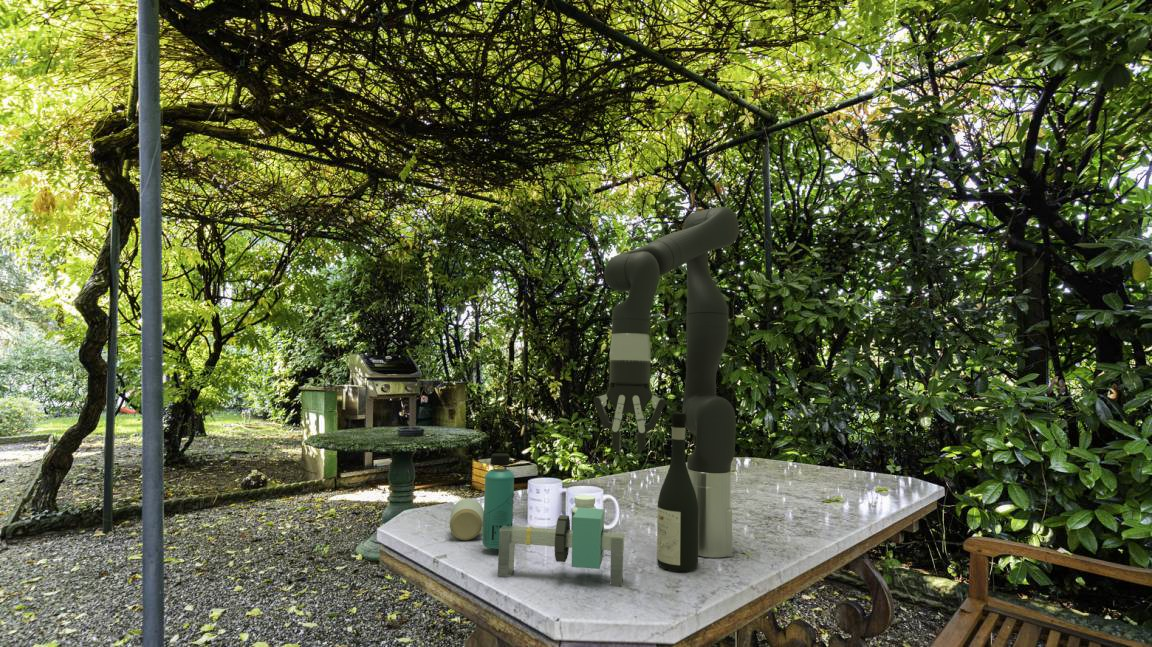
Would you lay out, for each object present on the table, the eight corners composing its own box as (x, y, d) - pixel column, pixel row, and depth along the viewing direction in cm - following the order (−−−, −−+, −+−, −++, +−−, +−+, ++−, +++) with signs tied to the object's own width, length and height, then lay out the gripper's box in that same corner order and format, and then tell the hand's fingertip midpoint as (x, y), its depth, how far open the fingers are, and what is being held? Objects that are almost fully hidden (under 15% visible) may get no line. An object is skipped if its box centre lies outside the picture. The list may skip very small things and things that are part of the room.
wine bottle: (671, 575, 105) (672, 414, 108) (649, 562, 113) (651, 411, 115) (706, 570, 109) (707, 414, 111) (682, 557, 116) (684, 411, 118)
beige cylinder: (448, 542, 122) (450, 506, 123) (449, 531, 130) (452, 497, 131) (497, 542, 124) (499, 506, 124) (495, 531, 132) (497, 498, 132)
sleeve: (603, 556, 106) (604, 509, 106) (599, 569, 98) (600, 518, 99) (577, 554, 106) (578, 507, 107) (571, 567, 99) (572, 517, 100)
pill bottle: (594, 547, 121) (595, 500, 122) (568, 545, 122) (569, 498, 123) (598, 540, 126) (599, 495, 127) (573, 538, 128) (574, 493, 129)
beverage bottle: (487, 557, 112) (491, 456, 114) (476, 548, 118) (480, 452, 120) (517, 553, 115) (520, 455, 117) (506, 544, 121) (509, 450, 123)
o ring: (569, 553, 107) (570, 512, 107) (562, 566, 99) (564, 522, 100) (561, 552, 107) (562, 511, 108) (554, 566, 99) (555, 522, 100)
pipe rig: (623, 578, 103) (624, 532, 104) (622, 586, 99) (623, 538, 100) (502, 568, 106) (504, 523, 107) (496, 576, 102) (498, 529, 103)
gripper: (667, 360, 107) (666, 451, 106) (594, 358, 109) (592, 448, 108) (668, 359, 100) (667, 457, 98) (590, 357, 102) (587, 453, 100)
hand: (628, 452), depth 103 cm, fingers open, 3 cm apart
